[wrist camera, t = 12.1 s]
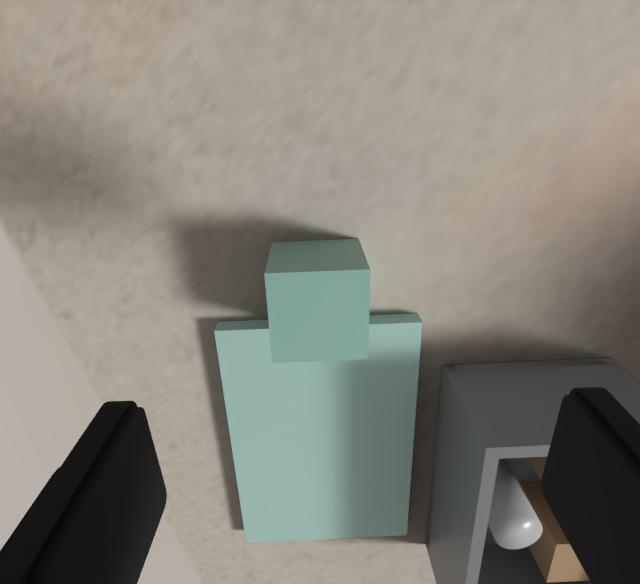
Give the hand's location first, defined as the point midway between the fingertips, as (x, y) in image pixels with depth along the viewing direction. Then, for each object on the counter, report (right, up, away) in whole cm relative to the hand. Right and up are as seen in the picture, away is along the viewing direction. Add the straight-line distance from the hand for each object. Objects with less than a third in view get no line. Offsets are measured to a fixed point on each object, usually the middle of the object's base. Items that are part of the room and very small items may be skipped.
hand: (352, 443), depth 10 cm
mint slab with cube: (-1, -3, +14) cm, 14 cm away
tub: (+11, -7, +16) cm, 20 cm away
